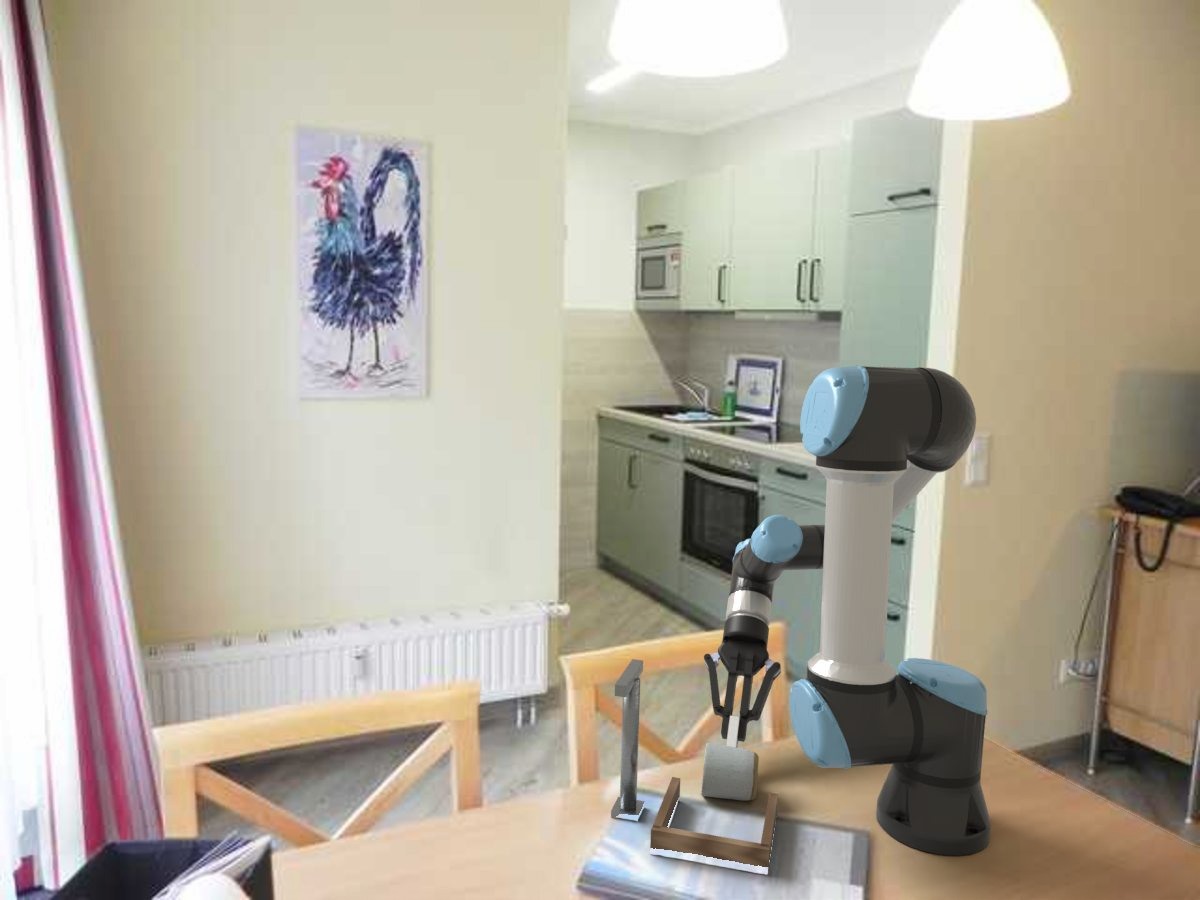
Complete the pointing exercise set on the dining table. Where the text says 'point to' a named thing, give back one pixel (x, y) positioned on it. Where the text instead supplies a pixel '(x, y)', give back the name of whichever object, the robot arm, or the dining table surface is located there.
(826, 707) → the robot arm
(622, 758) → the t stake
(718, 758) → the grey upright rounded block
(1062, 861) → the dining table surface
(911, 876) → the dining table surface
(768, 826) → the tray frame
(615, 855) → the dining table surface
